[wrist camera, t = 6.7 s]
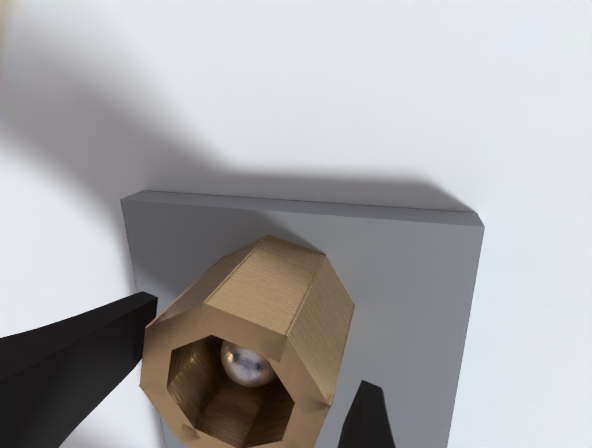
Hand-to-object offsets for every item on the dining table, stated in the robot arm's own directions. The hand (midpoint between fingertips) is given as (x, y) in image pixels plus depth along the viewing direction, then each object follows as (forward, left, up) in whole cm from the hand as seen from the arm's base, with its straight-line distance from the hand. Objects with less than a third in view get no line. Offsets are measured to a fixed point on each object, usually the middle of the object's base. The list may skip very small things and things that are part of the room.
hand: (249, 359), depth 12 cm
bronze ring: (0, 0, -3) cm, 3 cm away
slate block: (-3, -5, -5) cm, 8 cm away
